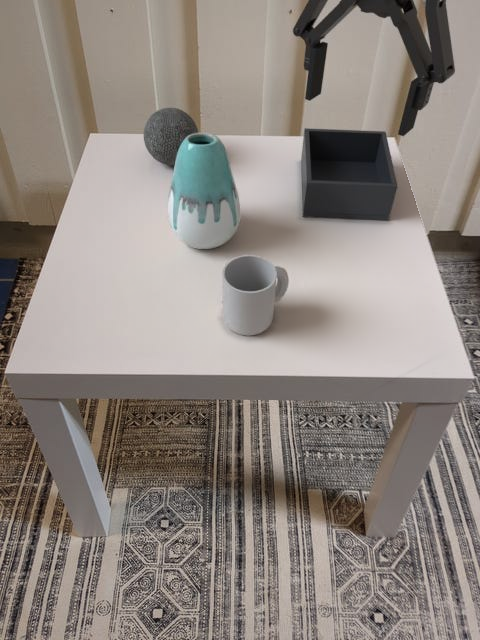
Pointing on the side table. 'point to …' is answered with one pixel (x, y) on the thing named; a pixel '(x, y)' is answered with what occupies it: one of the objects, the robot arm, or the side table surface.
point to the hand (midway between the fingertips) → (357, 113)
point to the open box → (347, 174)
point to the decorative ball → (167, 133)
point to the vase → (203, 193)
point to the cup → (251, 293)
